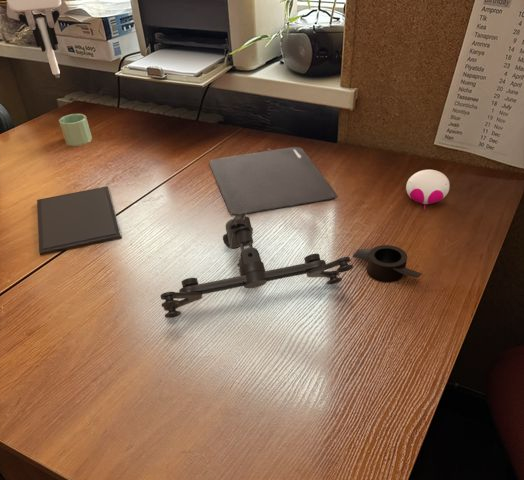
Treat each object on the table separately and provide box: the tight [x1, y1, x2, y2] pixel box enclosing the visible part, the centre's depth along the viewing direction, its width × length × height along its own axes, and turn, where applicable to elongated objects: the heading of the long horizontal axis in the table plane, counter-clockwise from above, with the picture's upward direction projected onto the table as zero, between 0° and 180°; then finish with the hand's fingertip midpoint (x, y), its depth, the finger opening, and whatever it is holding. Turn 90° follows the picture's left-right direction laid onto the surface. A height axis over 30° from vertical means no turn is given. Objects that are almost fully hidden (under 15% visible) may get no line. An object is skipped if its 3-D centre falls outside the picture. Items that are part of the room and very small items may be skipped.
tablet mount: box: [160, 213, 354, 319], centre depth 77 cm, size 27×14×17 cm
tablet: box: [36, 185, 122, 257], centre depth 94 cm, size 20×14×1 cm
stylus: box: [35, 17, 61, 79], centre depth 106 cm, size 2×2×11 cm
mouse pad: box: [209, 146, 337, 216], centre depth 103 cm, size 25×21×1 cm
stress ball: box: [405, 169, 451, 210], centre depth 92 cm, size 8×8×7 cm
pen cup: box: [58, 113, 93, 147], centre depth 119 cm, size 6×6×6 cm
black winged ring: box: [352, 244, 422, 283], centre depth 78 cm, size 8×10×3 cm
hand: (49, 48), depth 106 cm, fingers closed on stylus, 1 cm apart
